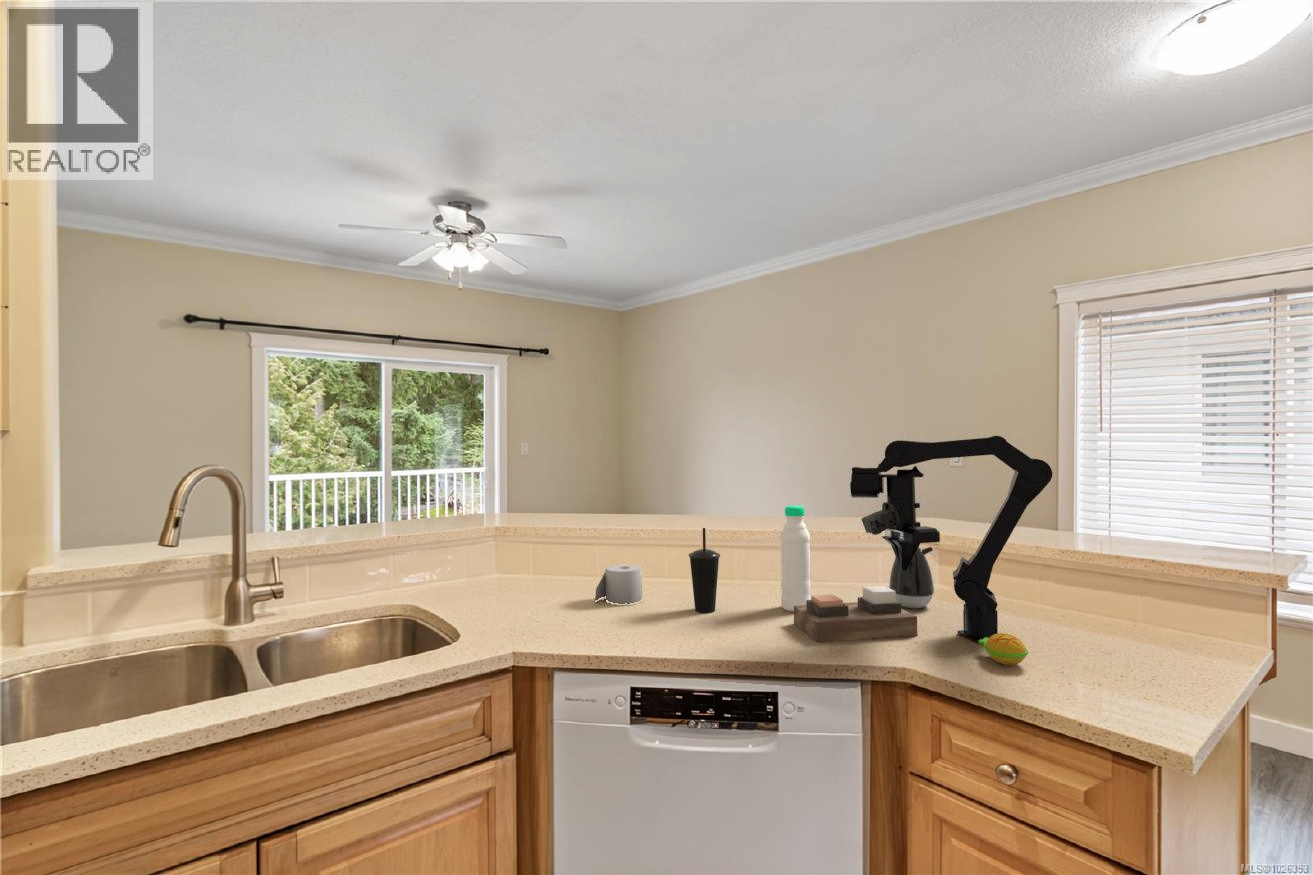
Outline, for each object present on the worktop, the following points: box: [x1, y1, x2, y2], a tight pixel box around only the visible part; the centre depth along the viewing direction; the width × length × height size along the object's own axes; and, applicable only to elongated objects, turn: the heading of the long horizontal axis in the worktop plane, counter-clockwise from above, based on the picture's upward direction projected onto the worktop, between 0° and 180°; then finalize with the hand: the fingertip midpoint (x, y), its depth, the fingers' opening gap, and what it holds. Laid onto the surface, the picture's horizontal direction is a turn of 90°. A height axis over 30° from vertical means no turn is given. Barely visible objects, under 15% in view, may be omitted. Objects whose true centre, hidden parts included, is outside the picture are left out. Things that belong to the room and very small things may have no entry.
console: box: [793, 596, 918, 643], centre depth 135 cm, size 13×22×6 cm, turn 99°
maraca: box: [977, 632, 1029, 666], centre depth 115 cm, size 7×10×5 cm
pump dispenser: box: [888, 546, 935, 609], centre depth 154 cm, size 10×10×15 cm
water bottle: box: [780, 505, 812, 613], centre depth 152 cm, size 7×7×25 cm
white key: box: [862, 585, 896, 604], centre depth 136 cm, size 5×5×3 cm
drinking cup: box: [688, 527, 721, 614], centre depth 152 cm, size 8×8×20 cm
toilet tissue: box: [594, 563, 643, 604], centre depth 160 cm, size 9×13×9 cm
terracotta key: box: [810, 594, 844, 607], centre depth 134 cm, size 5×5×3 cm
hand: (903, 570), depth 135 cm, fingers closed
